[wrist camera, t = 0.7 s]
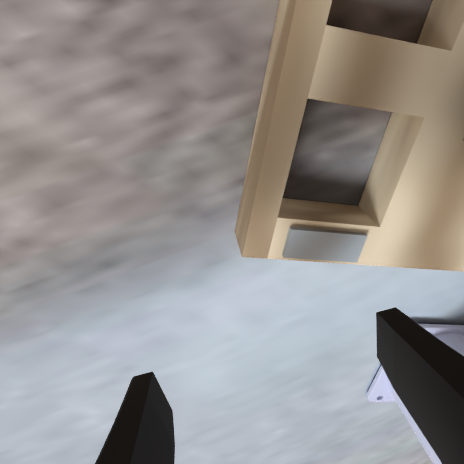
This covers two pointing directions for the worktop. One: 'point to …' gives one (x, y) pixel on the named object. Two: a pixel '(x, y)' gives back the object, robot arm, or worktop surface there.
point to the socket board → (390, 151)
